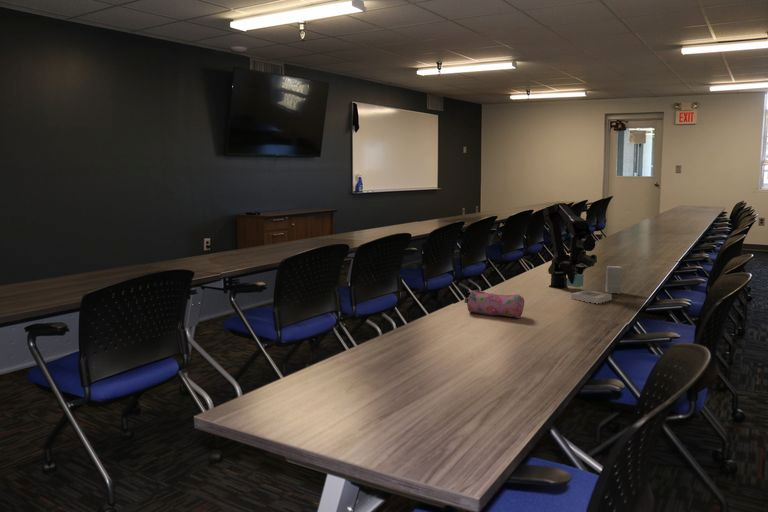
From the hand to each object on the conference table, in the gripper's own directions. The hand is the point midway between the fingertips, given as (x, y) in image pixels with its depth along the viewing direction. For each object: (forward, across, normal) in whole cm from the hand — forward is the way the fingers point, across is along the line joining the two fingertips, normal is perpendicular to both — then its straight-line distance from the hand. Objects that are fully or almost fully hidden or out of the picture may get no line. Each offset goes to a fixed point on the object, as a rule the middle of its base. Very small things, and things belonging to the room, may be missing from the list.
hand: (575, 282), depth 270 cm
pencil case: (+5, -59, 0) cm, 59 cm away
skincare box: (+5, +16, -10) cm, 20 cm away
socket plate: (+5, -5, -11) cm, 13 cm away
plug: (+1, 0, 0) cm, 1 cm away
